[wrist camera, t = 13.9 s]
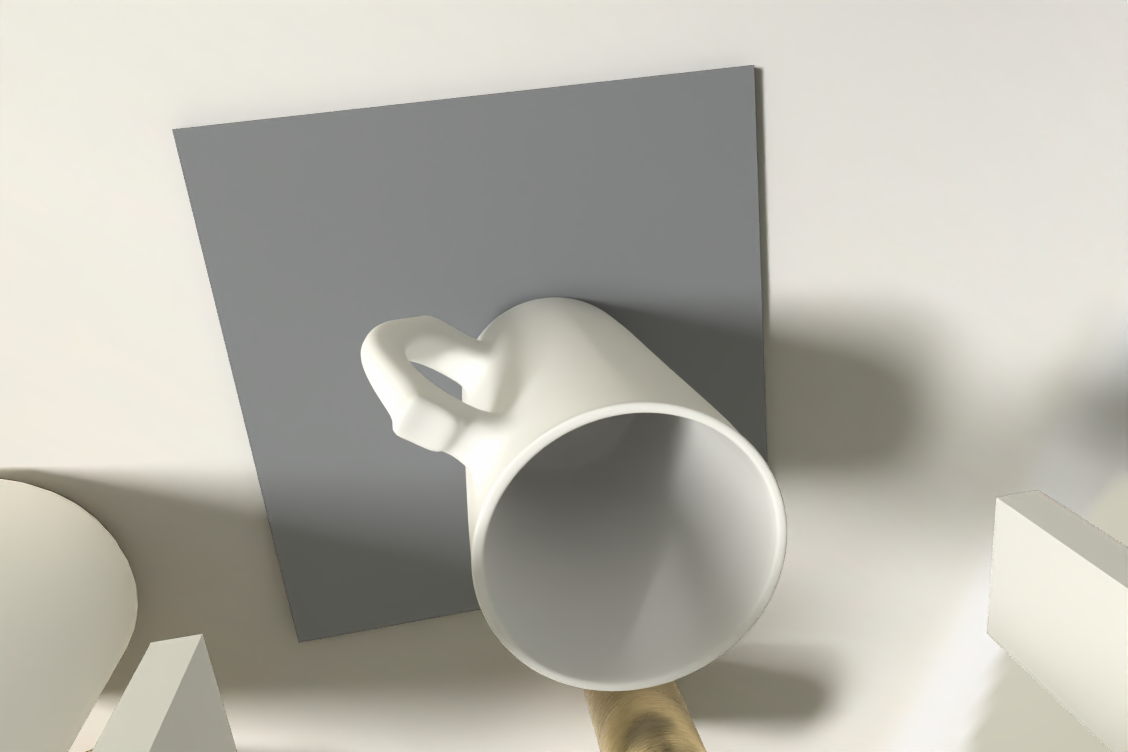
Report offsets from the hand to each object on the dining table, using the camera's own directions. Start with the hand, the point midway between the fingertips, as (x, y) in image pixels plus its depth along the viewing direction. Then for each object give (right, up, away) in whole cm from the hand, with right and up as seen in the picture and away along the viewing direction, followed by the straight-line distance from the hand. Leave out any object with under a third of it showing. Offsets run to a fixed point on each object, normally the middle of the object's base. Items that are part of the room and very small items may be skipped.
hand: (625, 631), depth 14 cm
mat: (-3, +4, +15) cm, 16 cm away
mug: (-3, +5, +15) cm, 16 cm away
